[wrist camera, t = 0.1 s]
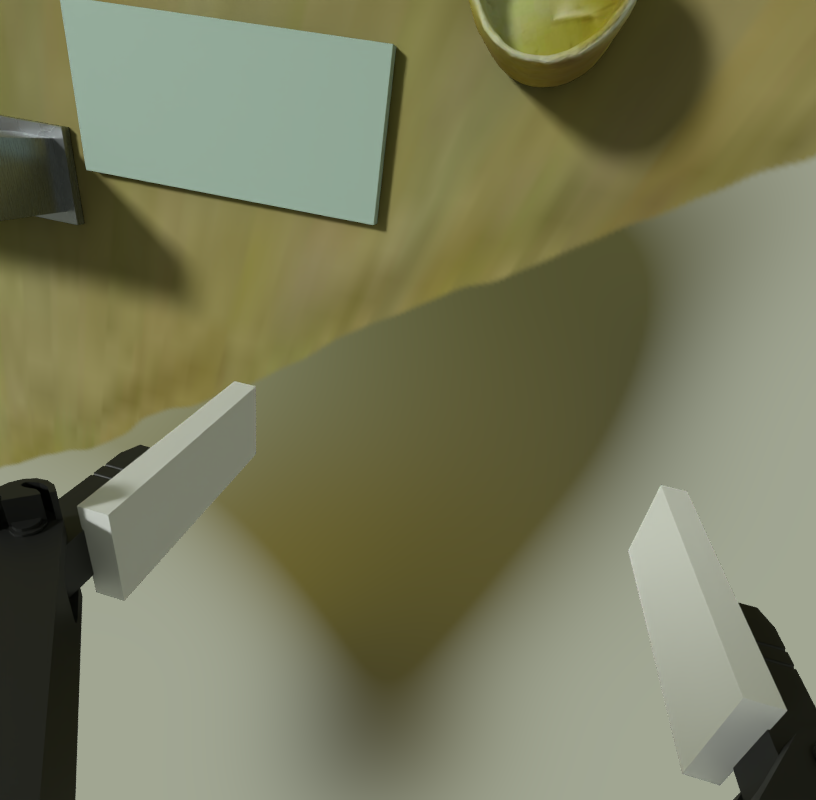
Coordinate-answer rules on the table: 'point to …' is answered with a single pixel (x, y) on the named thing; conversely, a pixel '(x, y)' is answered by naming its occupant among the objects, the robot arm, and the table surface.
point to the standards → (37, 172)
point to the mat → (232, 107)
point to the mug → (548, 35)
